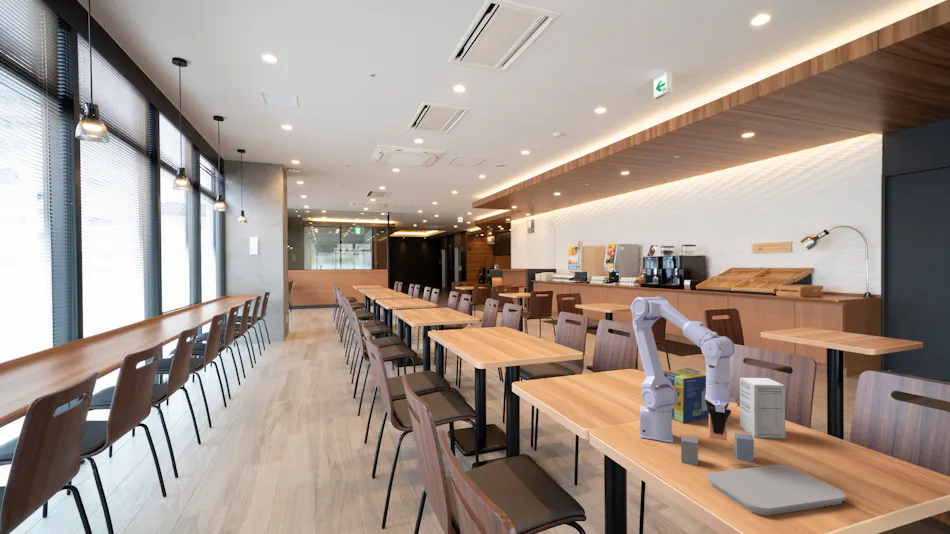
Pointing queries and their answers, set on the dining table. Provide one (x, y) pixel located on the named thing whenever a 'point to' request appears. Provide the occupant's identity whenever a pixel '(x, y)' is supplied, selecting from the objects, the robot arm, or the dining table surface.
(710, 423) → the terracotta block
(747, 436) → the slate-blue block
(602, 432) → the dining table surface
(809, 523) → the dining table surface
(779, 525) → the dining table surface
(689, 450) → the gray block
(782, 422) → the supplement box
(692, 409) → the protein box
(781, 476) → the tablet
